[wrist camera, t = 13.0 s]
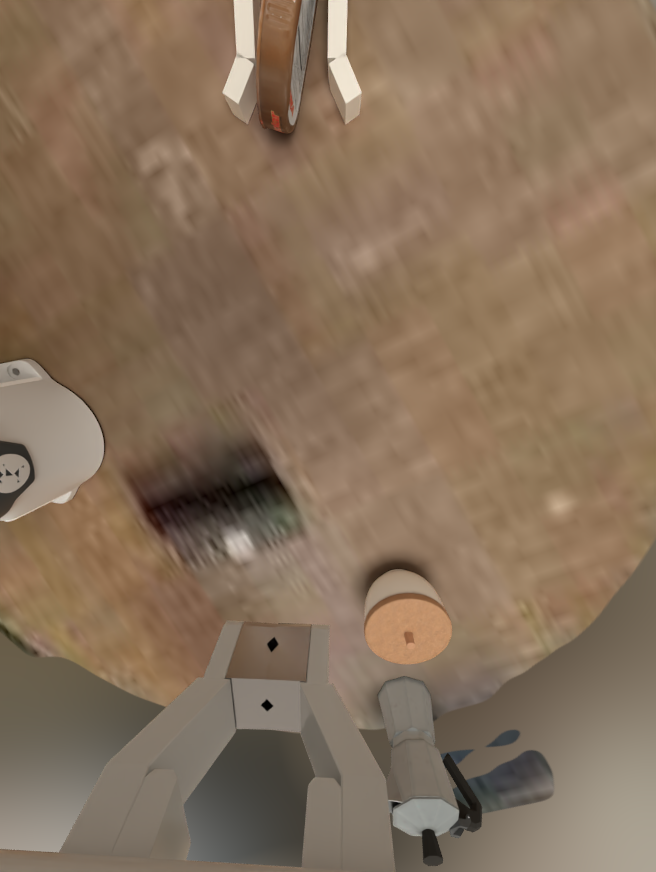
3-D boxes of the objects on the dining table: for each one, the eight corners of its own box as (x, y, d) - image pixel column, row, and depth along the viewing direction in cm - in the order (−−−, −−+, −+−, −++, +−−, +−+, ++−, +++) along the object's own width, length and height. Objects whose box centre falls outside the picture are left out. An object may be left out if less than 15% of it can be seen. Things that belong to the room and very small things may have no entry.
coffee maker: (358, 701, 55) (367, 868, 38) (378, 667, 53) (397, 830, 36) (439, 724, 56) (482, 895, 39) (462, 691, 54) (519, 860, 37)
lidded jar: (450, 582, 47) (476, 642, 38) (399, 625, 50) (412, 690, 41) (395, 542, 45) (409, 595, 36) (345, 589, 48) (347, 649, 39)
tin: (298, -75, 26) (280, -248, 19) (335, -63, 27) (334, -230, 19) (266, 147, 31) (241, 86, 23) (298, 156, 31) (284, 98, 23)
